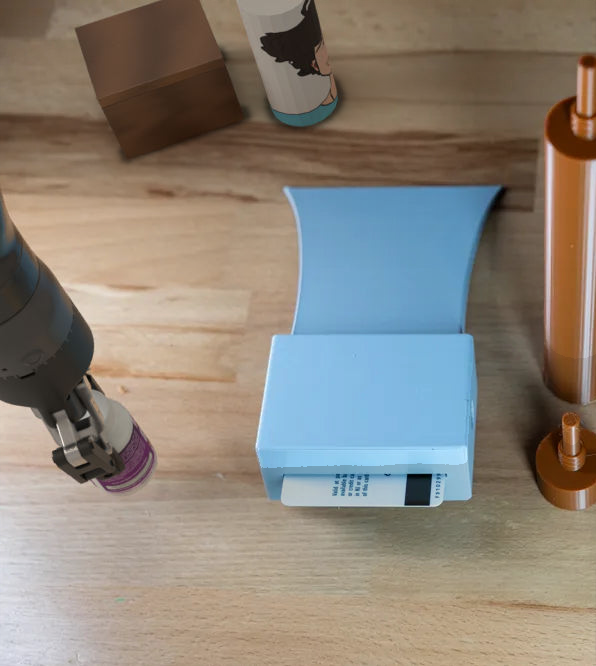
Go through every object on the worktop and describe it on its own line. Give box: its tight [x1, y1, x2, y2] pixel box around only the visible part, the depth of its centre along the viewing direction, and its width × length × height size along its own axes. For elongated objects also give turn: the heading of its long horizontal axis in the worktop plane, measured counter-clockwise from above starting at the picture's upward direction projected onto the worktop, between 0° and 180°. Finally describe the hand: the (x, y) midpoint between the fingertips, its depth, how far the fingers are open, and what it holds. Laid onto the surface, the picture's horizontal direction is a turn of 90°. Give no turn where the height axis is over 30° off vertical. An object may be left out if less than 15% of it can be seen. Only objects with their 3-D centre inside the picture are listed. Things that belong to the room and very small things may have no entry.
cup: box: [235, 0, 339, 127], centre depth 111 cm, size 7×7×15 cm
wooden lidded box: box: [74, 0, 246, 160], centre depth 115 cm, size 12×10×9 cm
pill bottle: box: [80, 389, 158, 498], centre depth 89 cm, size 5×5×10 cm
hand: (102, 437), depth 89 cm, fingers closed on pill bottle, 5 cm apart
